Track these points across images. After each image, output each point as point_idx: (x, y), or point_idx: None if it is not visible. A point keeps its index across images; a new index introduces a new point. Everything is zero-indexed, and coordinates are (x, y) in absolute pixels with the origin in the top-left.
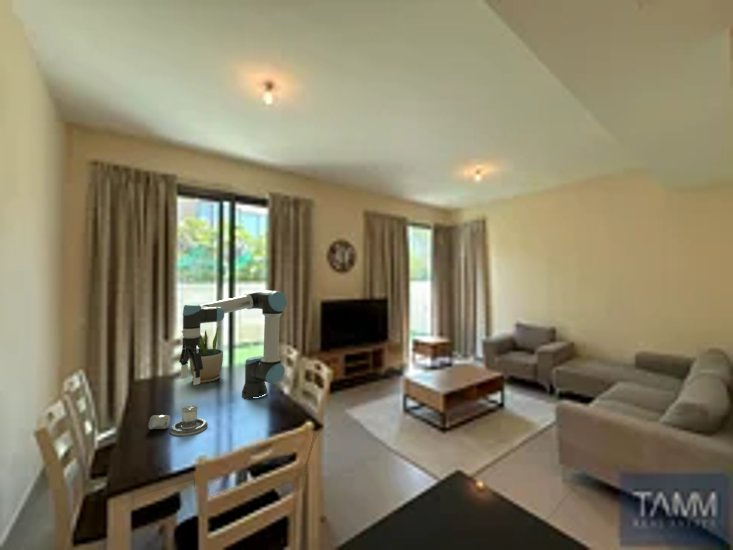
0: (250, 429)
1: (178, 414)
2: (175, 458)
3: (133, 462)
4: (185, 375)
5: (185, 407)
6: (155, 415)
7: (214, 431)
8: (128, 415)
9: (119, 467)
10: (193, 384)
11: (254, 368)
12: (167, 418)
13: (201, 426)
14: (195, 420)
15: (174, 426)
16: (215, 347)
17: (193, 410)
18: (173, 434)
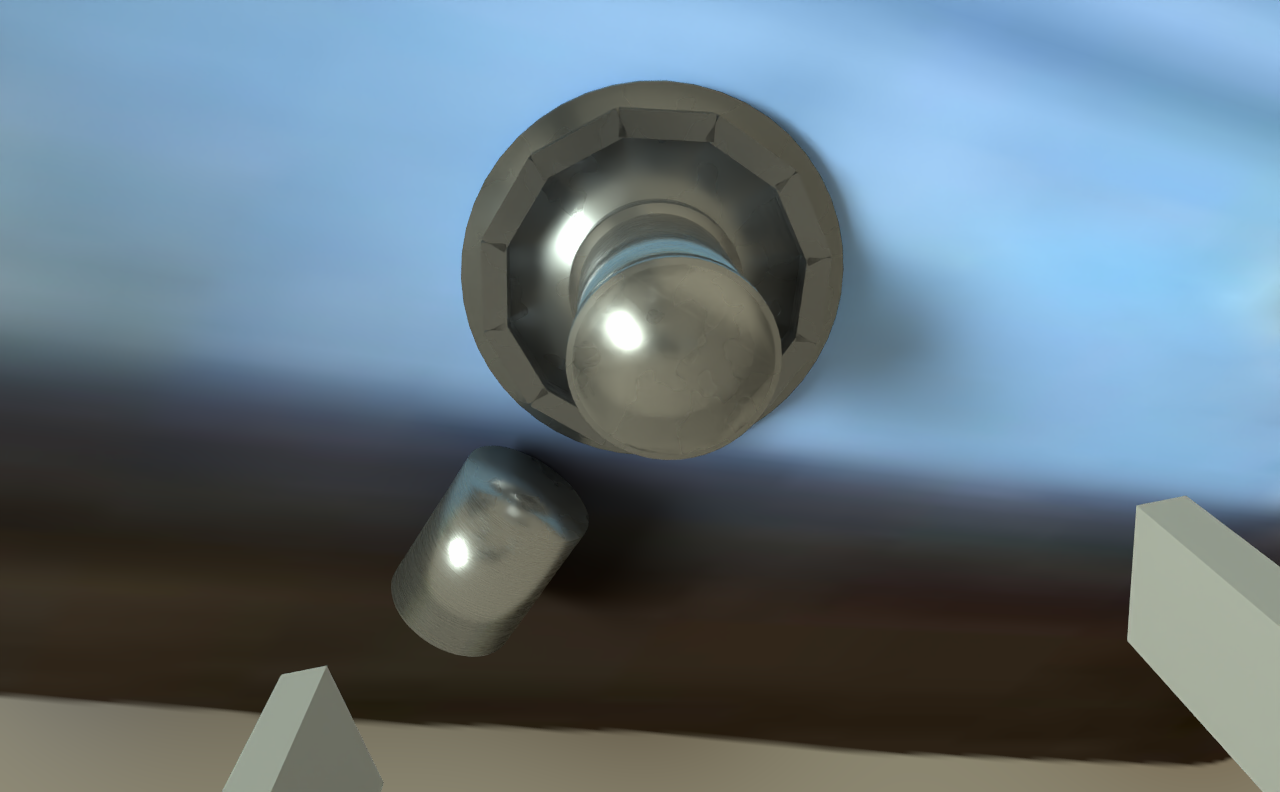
0: None
1: (158, 309)
2: (1173, 470)
3: (1002, 684)
4: (326, 778)
5: (618, 409)
6: (444, 623)
7: (910, 54)
8: (7, 694)
9: (1006, 742)
10: (1135, 644)
11: None
12: (528, 513)
13: (804, 189)
14: (725, 253)
15: None
16: None
17: (775, 329)
18: None
